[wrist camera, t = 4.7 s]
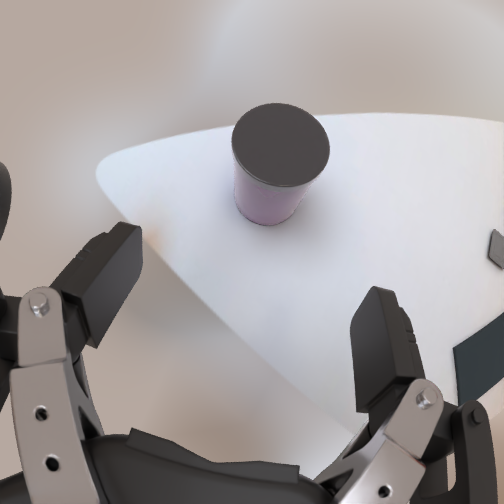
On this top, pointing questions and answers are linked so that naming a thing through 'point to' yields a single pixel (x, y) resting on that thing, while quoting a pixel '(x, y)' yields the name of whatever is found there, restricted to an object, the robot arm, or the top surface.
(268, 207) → the tin
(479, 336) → the mat
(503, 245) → the key chain
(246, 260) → the top surface
